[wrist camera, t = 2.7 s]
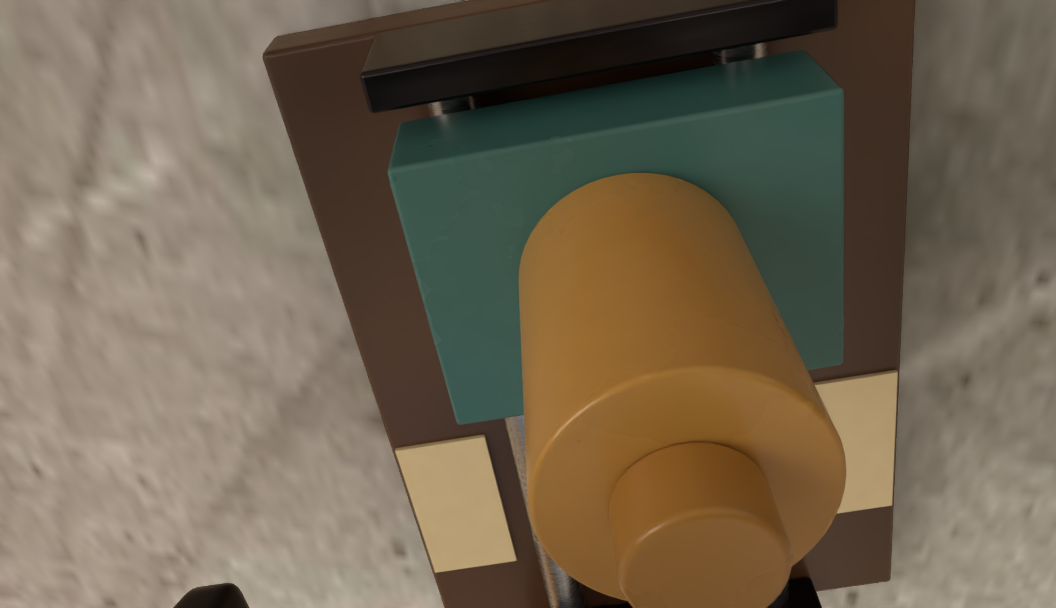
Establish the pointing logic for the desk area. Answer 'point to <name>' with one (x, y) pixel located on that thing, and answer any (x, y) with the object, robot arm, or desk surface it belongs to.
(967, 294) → the desk surface
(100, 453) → the desk surface
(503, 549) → the rail
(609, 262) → the teal slider with knob
